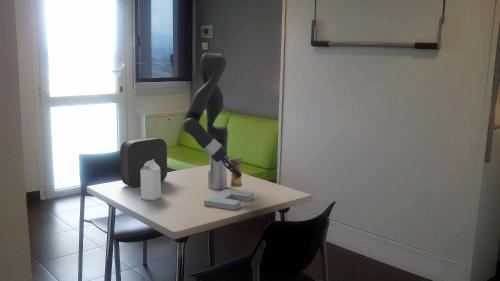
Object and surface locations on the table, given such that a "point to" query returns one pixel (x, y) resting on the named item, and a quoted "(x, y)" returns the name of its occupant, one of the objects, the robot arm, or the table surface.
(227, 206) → the notched board
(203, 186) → the table surface
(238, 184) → the bobbin
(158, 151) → the speaker
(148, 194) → the milk carton
